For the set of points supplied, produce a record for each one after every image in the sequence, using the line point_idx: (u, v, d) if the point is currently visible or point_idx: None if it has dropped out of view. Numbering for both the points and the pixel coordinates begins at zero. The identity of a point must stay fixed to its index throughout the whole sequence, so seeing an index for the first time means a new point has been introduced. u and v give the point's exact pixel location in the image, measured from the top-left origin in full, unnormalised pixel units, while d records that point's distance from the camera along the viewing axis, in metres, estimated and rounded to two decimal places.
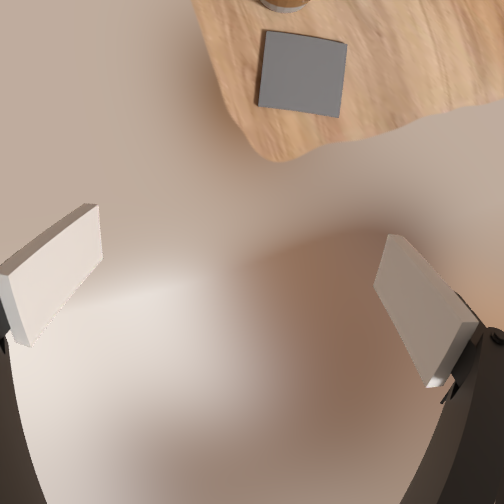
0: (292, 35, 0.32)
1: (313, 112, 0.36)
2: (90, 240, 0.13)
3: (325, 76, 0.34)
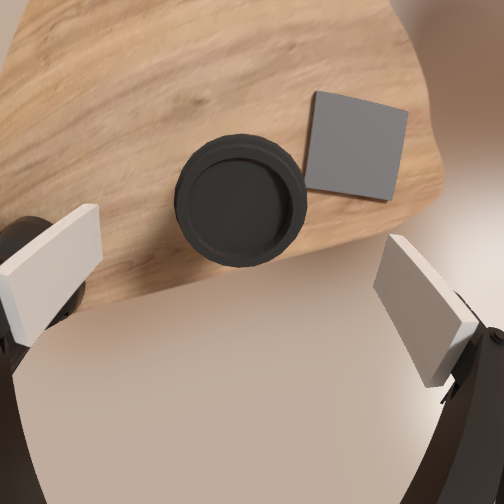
0: (309, 157, 0.31)
1: (402, 140, 0.29)
2: (90, 240, 0.13)
3: (361, 122, 0.29)
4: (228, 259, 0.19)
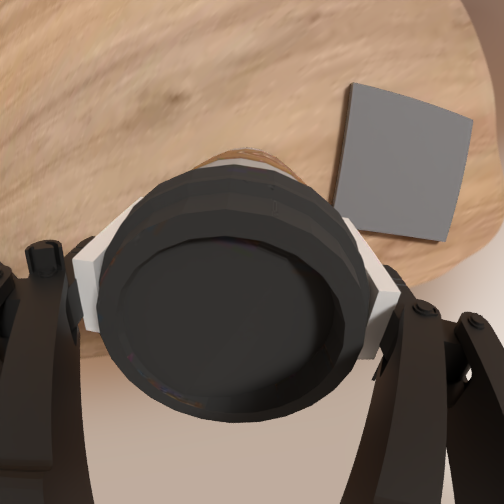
0: (340, 182, 0.21)
1: (465, 160, 0.19)
2: None
3: (414, 132, 0.19)
4: (211, 412, 0.09)
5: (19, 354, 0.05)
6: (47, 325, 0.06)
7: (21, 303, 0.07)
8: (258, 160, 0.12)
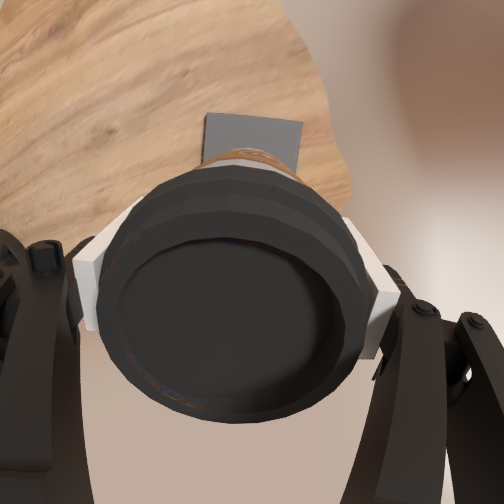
0: None
1: (297, 151, 0.33)
2: None
3: (251, 138, 0.32)
4: (211, 413, 0.09)
5: (19, 354, 0.05)
6: (47, 325, 0.06)
7: (21, 304, 0.07)
8: (258, 160, 0.12)
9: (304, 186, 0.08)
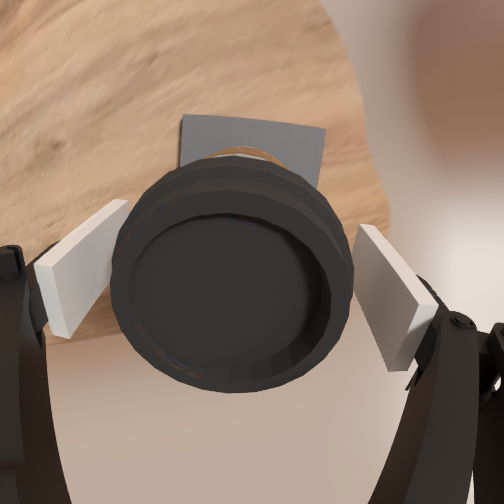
0: None
1: (317, 172, 0.22)
2: None
3: None
4: (211, 382, 0.11)
5: None
6: (11, 328, 0.06)
7: None
8: (255, 155, 0.13)
9: (295, 174, 0.10)
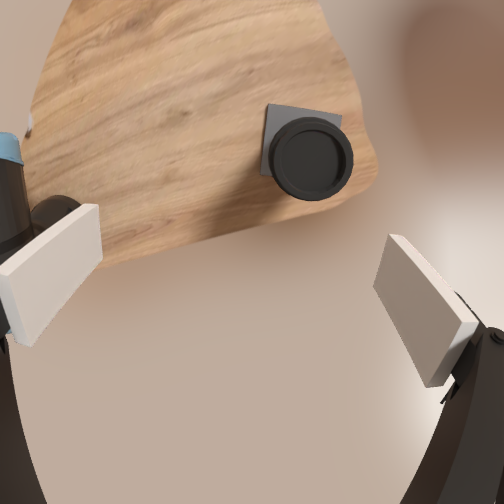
0: (263, 152, 0.42)
1: None
2: (90, 240, 0.13)
3: None
4: (304, 194, 0.29)
5: None
6: None
7: None
8: None
9: None
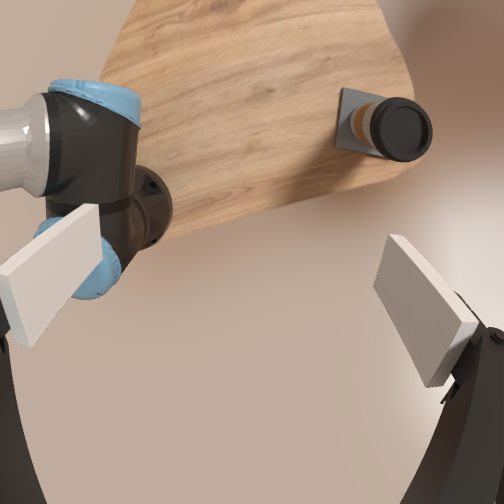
0: (339, 128, 0.47)
1: None
2: (90, 240, 0.13)
3: None
4: (400, 155, 0.34)
5: None
6: None
7: None
8: None
9: None
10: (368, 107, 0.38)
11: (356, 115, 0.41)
